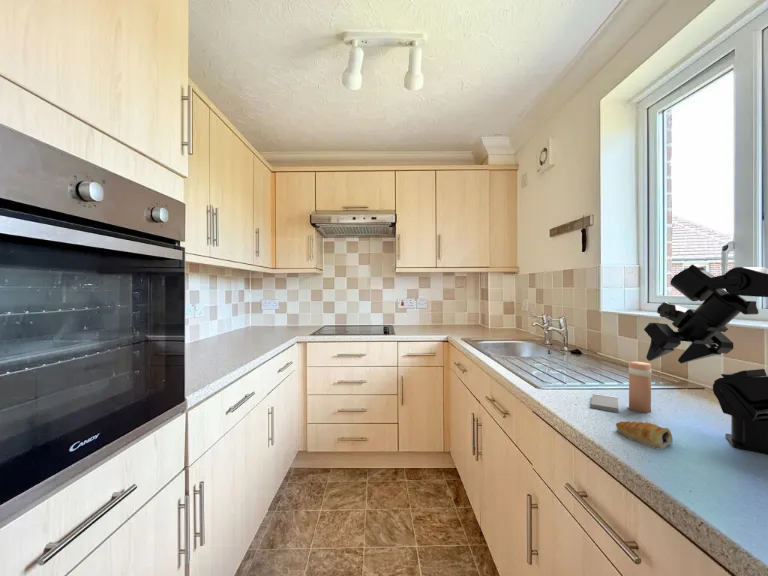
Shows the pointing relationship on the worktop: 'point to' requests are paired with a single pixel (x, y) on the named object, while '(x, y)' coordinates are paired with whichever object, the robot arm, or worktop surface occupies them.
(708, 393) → the worktop surface
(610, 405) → the pad
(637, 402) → the stub
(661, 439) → the pastry
